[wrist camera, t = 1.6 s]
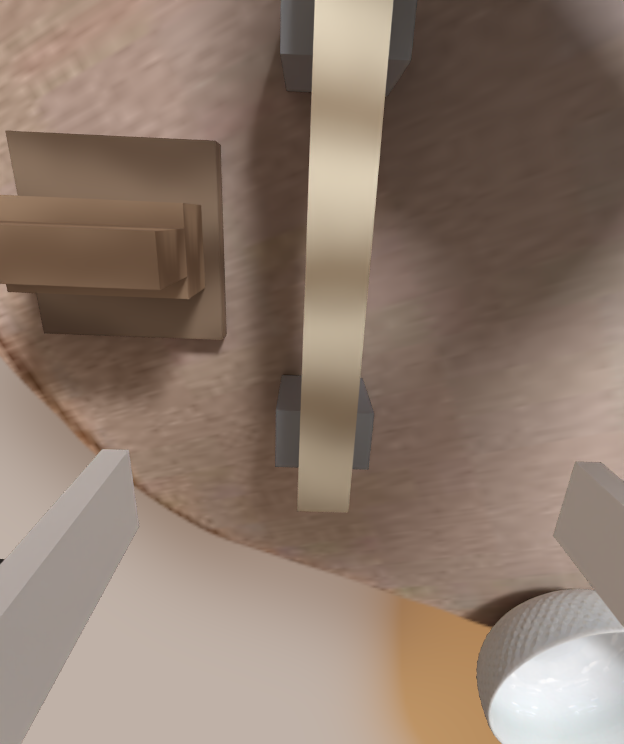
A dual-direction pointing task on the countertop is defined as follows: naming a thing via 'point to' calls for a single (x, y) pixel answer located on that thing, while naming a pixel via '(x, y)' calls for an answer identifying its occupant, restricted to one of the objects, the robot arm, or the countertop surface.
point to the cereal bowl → (554, 672)
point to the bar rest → (299, 78)
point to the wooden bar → (339, 238)
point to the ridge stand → (116, 234)
